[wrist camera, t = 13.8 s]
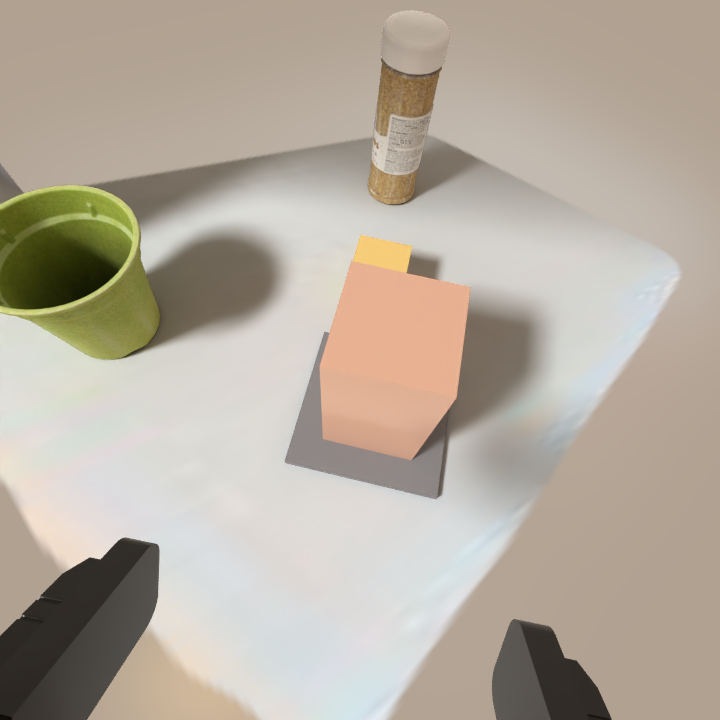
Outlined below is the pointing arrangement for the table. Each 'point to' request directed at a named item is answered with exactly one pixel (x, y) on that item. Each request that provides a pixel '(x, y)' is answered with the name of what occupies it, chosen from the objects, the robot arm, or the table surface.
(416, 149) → the spice jar
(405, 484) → the gray mat
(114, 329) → the plant pot
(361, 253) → the ochre block
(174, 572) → the table surface
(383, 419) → the tall peach pillar
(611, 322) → the table surface
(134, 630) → the robot arm
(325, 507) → the table surface
